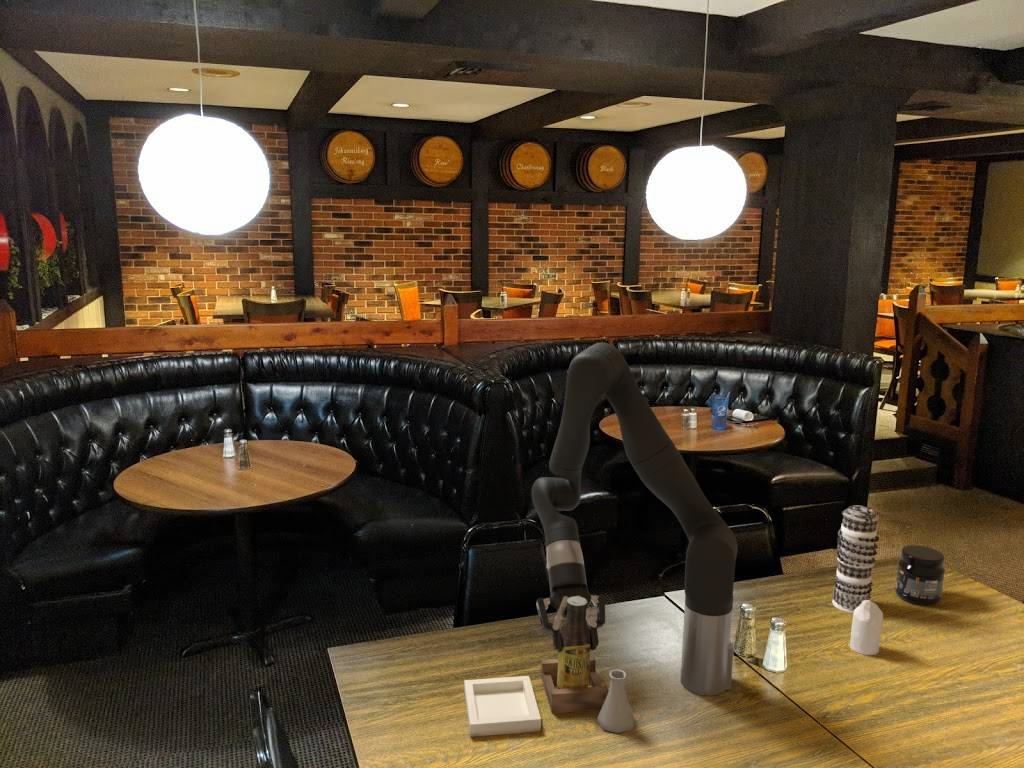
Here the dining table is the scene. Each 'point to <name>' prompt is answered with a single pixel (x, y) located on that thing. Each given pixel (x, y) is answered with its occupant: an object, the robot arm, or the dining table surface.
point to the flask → (616, 706)
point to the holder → (572, 690)
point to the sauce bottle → (574, 646)
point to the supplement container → (920, 575)
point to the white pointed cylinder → (866, 628)
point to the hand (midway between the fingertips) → (576, 650)
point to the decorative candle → (855, 557)
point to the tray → (501, 706)
